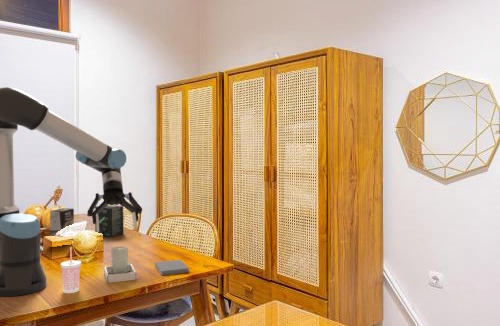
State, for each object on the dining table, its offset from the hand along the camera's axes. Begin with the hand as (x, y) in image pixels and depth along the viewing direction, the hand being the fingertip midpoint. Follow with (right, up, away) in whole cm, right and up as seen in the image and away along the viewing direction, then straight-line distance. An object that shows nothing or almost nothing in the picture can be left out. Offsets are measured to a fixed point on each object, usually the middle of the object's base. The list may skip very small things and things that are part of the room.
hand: (116, 229), depth 158 cm
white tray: (+4, -15, -9) cm, 18 cm away
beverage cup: (-7, -16, -23) cm, 29 cm away
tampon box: (-22, -12, +57) cm, 62 cm away
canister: (+4, -15, -9) cm, 18 cm away
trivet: (+20, -15, +1) cm, 25 cm away
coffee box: (-37, -13, +36) cm, 53 cm away
